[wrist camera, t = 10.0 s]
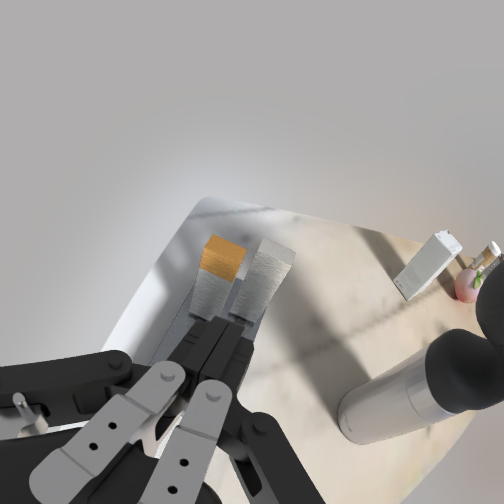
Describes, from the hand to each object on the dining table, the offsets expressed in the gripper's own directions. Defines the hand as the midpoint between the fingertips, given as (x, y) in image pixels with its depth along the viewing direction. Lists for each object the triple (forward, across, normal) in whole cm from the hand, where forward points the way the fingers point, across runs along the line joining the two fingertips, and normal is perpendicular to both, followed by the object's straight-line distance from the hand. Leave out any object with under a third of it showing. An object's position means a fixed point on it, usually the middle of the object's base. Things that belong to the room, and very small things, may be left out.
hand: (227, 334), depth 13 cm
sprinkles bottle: (+69, -55, +12) cm, 89 cm away
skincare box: (+48, -28, +14) cm, 58 cm away
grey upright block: (+20, +2, +13) cm, 24 cm away
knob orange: (+18, +7, +14) cm, 23 cm away
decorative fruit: (+55, -46, +15) cm, 73 cm away
